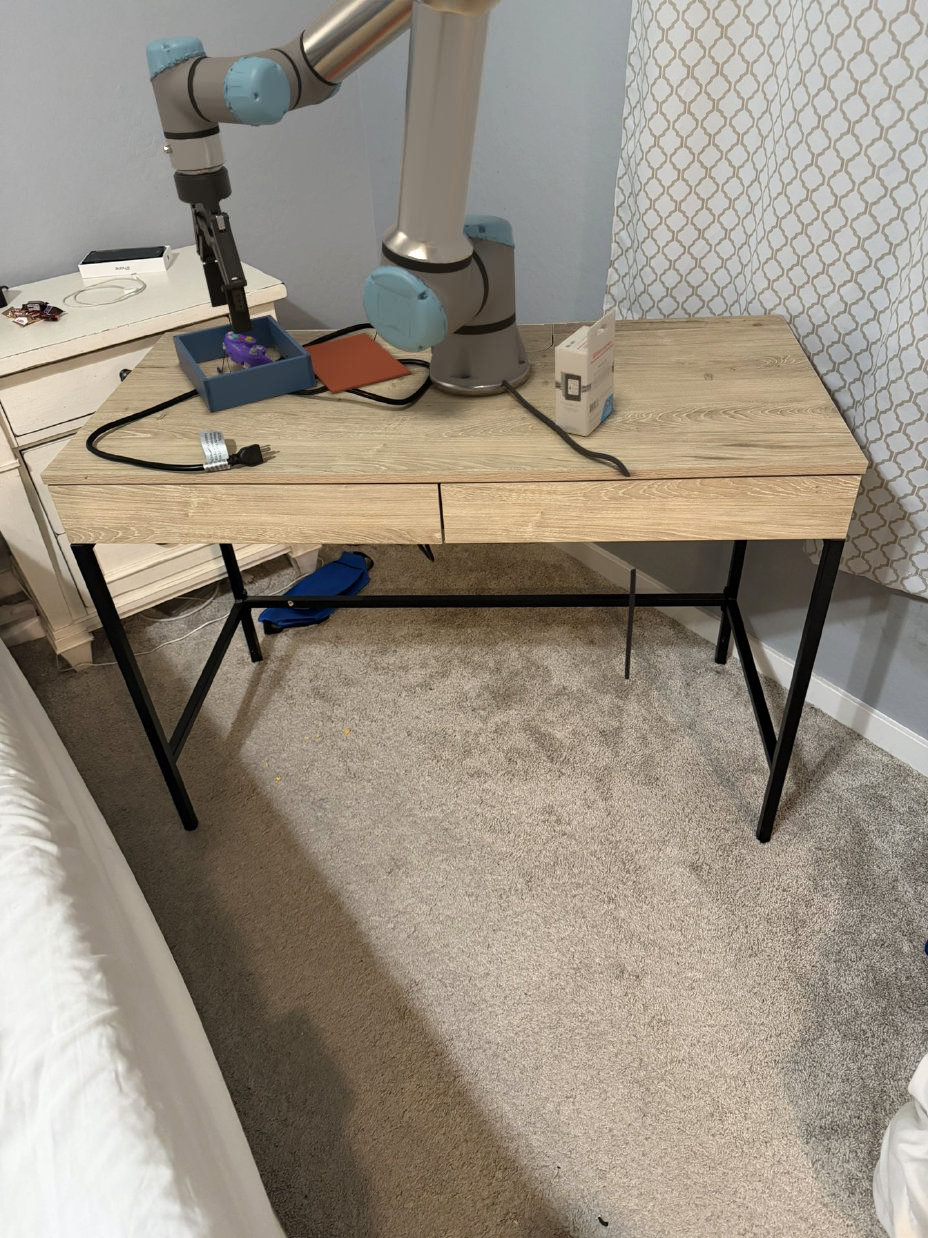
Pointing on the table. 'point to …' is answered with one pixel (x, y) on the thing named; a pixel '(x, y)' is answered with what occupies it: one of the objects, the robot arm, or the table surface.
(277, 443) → the table surface
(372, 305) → the robot arm
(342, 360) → the mat
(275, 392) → the box
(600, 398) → the ink box
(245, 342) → the game controller
